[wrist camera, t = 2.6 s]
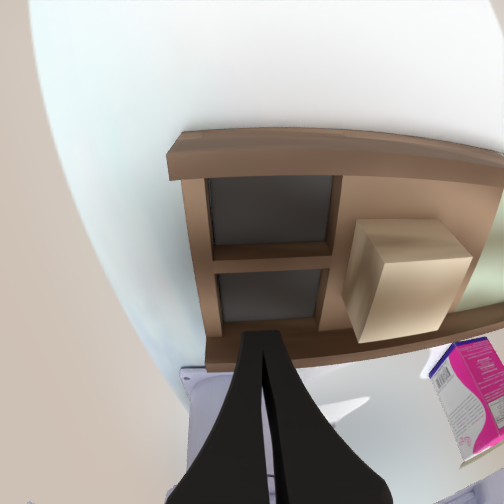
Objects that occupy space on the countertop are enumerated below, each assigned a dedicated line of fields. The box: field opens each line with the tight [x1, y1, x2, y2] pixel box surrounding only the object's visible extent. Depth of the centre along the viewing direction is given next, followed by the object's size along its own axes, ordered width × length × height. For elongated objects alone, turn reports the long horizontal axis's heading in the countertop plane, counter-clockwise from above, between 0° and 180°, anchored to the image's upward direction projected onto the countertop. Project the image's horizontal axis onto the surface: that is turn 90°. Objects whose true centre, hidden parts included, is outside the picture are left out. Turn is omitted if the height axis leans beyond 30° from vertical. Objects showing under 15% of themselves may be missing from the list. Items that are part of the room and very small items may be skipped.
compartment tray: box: [166, 128, 504, 373], centre depth 15 cm, size 13×26×4 cm, turn 91°
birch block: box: [342, 219, 473, 343], centre depth 14 cm, size 5×5×4 cm
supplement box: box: [429, 337, 504, 461], centre depth 21 cm, size 6×6×12 cm
